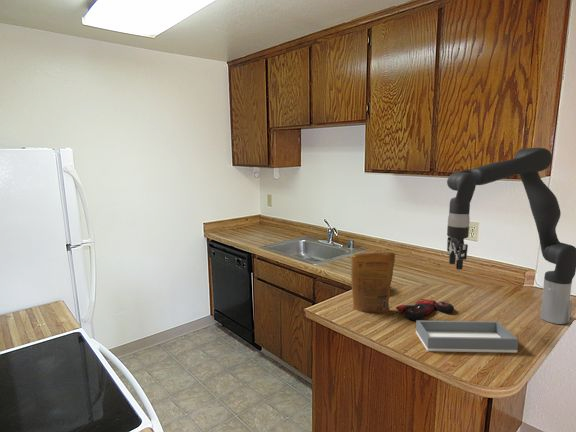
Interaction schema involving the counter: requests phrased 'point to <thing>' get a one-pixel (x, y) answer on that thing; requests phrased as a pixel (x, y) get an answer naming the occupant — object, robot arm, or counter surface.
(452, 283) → the counter surface
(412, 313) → the toy motorcycle
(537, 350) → the counter surface
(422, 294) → the counter surface
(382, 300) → the pancake mix bag
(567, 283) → the robot arm
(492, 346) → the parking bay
